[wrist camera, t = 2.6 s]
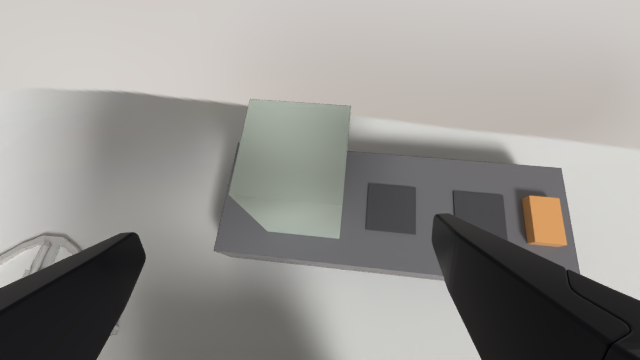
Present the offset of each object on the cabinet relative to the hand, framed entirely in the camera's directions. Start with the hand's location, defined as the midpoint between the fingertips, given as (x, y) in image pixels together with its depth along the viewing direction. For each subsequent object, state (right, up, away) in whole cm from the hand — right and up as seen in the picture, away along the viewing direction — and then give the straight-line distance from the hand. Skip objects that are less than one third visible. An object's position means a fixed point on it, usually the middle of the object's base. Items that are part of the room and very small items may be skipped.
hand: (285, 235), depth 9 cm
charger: (0, 0, +11) cm, 11 cm away
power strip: (+5, -1, +11) cm, 13 cm away
